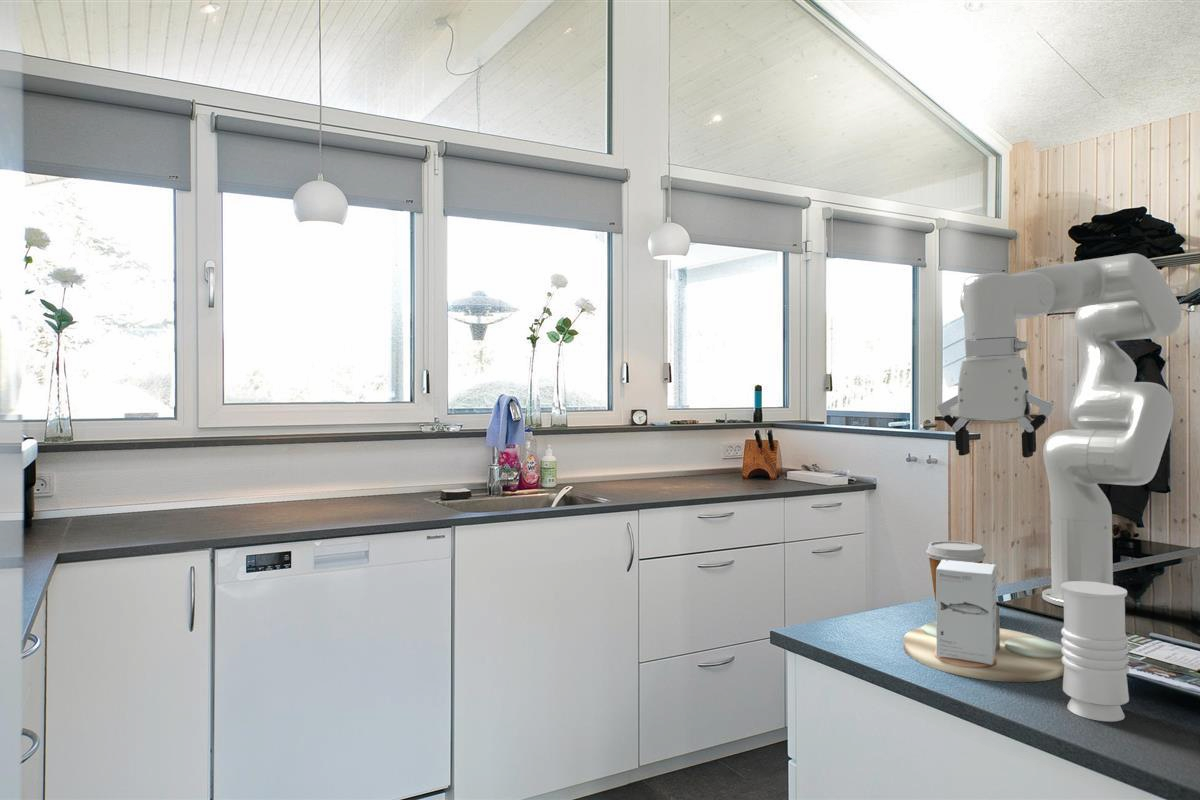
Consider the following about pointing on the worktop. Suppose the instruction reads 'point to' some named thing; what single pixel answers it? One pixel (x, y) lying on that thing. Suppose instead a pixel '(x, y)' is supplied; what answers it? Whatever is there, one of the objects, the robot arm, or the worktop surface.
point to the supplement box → (966, 611)
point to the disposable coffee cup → (952, 554)
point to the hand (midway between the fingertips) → (995, 455)
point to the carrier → (1012, 661)
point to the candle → (1095, 649)
